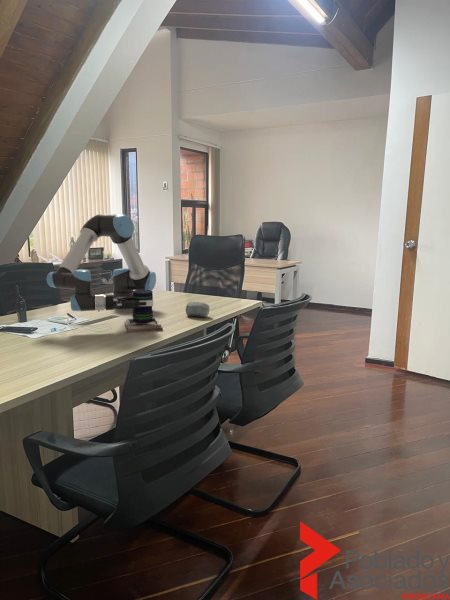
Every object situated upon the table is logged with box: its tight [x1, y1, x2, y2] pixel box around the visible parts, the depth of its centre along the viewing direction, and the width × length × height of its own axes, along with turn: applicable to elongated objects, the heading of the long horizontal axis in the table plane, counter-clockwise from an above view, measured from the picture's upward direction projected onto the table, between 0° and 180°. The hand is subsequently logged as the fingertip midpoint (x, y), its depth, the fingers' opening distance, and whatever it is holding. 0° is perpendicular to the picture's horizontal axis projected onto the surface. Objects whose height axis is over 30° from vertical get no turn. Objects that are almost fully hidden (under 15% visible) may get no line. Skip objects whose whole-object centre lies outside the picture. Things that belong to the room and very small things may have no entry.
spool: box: [185, 301, 211, 318], centre depth 238 cm, size 14×10×10 cm
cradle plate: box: [124, 317, 164, 333], centre depth 212 cm, size 17×17×3 cm
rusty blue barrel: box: [132, 290, 154, 323], centre depth 211 cm, size 10×10×15 cm
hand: (151, 301), depth 211 cm, fingers closed on rusty blue barrel, 10 cm apart
